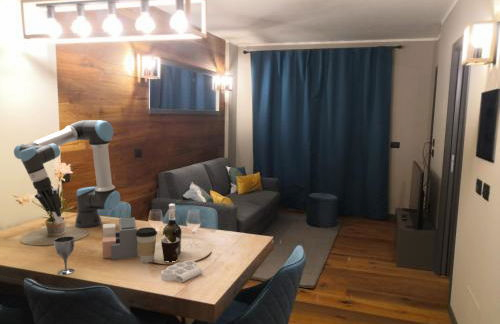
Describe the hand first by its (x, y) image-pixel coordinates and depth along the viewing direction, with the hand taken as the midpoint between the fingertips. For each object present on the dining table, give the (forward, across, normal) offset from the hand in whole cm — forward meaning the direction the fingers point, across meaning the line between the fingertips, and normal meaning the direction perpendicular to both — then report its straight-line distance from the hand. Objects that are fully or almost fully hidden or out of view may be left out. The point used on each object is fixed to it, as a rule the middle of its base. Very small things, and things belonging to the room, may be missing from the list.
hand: (60, 222), depth 199 cm
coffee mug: (+31, +51, +1) cm, 59 cm away
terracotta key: (+22, +20, -1) cm, 30 cm away
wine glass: (+15, +14, -23) cm, 31 cm away
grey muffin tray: (+31, +62, -15) cm, 70 cm away
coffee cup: (+27, +40, -3) cm, 48 cm away
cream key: (+22, +15, +7) cm, 28 cm away
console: (+24, +23, +6) cm, 34 cm away
